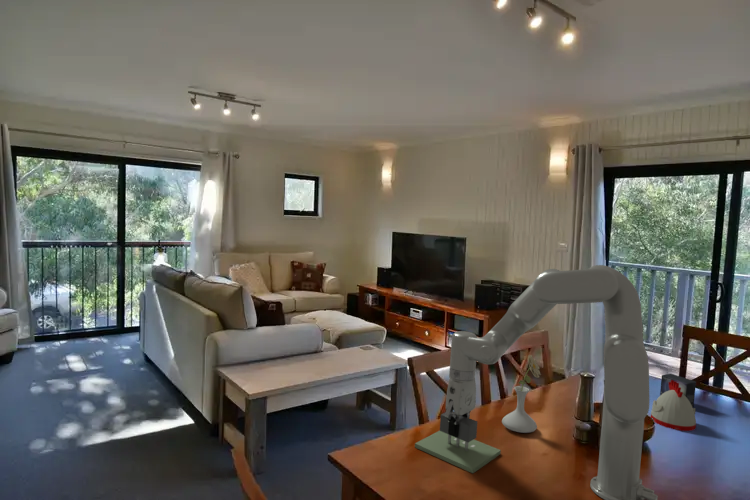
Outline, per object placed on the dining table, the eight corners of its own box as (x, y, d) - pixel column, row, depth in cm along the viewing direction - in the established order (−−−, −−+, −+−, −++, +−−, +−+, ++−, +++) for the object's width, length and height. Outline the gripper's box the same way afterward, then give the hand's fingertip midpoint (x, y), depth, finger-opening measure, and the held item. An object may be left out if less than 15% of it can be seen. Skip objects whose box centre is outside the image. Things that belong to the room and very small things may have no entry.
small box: (658, 399, 195) (660, 374, 194) (668, 397, 198) (670, 373, 197) (684, 409, 185) (686, 383, 185) (694, 407, 188) (697, 381, 187)
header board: (500, 454, 141) (501, 437, 141) (472, 473, 129) (474, 455, 129) (444, 431, 154) (445, 416, 154) (414, 447, 143) (415, 430, 142)
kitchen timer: (682, 416, 178) (686, 377, 177) (704, 432, 164) (708, 390, 163) (643, 413, 179) (647, 374, 178) (662, 428, 165) (665, 387, 164)
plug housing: (476, 437, 140) (477, 421, 140) (468, 442, 137) (469, 425, 136) (447, 426, 147) (448, 410, 146) (439, 430, 143) (440, 414, 143)
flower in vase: (522, 439, 152) (528, 363, 150) (494, 425, 161) (499, 353, 159) (546, 430, 159) (552, 357, 158) (518, 417, 169) (523, 349, 167)
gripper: (457, 383, 132) (453, 446, 133) (487, 371, 144) (483, 429, 145) (435, 376, 137) (431, 437, 138) (466, 365, 149) (462, 421, 150)
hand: (458, 432), depth 142 cm, fingers closed on plug housing, 4 cm apart
